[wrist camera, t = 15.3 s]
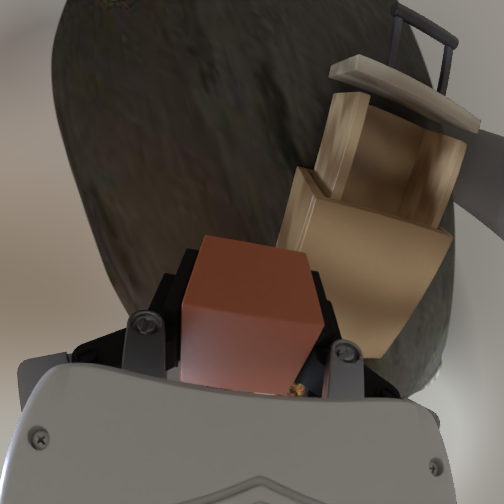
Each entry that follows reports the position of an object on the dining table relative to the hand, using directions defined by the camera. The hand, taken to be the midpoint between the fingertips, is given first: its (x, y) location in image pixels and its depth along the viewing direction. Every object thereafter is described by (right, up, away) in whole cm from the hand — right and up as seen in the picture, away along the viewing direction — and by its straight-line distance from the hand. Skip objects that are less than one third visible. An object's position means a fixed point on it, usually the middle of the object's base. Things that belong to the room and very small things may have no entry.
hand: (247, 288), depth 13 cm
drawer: (+12, +13, +8) cm, 20 cm away
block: (0, 0, 0) cm, 0 cm away
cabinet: (+9, +2, +16) cm, 19 cm away
